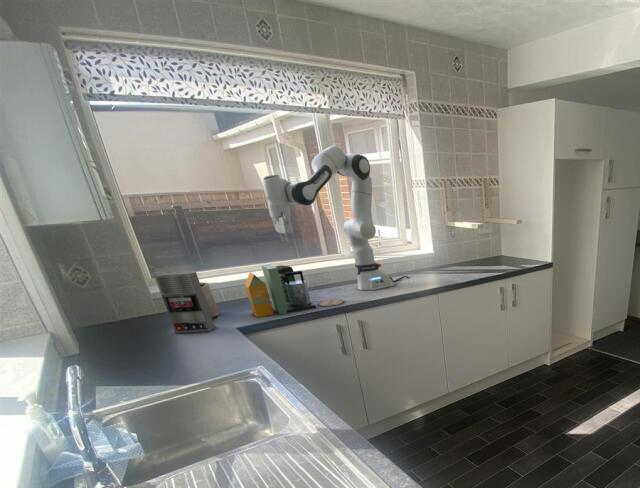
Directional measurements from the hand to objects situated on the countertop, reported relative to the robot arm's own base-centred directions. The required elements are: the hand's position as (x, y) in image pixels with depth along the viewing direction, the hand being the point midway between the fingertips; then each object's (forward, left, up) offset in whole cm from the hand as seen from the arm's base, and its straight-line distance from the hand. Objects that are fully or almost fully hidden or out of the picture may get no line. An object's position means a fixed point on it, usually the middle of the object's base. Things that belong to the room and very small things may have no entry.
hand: (287, 242), depth 207 cm
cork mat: (-13, +5, -32) cm, 35 cm away
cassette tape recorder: (+48, +10, -32) cm, 58 cm away
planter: (+45, -13, -32) cm, 57 cm away
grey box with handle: (+1, +3, -30) cm, 30 cm away
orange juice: (+19, +1, -32) cm, 37 cm away
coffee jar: (+1, -20, -32) cm, 37 cm away
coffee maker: (+4, +1, -32) cm, 32 cm away
